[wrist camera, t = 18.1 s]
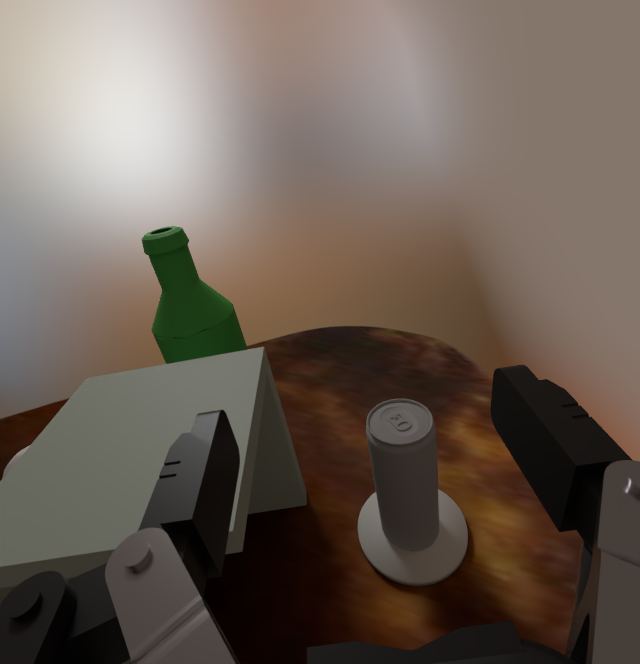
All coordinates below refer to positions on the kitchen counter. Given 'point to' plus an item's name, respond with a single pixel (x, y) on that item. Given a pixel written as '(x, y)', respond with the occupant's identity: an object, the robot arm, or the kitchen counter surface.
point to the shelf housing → (138, 461)
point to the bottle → (188, 303)
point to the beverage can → (405, 472)
